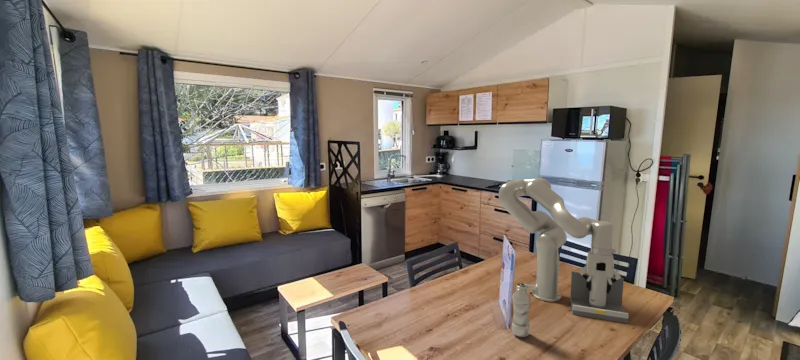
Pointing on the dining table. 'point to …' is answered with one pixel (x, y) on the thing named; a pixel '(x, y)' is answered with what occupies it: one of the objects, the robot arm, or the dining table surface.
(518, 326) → the plastic bottle
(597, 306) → the travel mug
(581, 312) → the grey bookend
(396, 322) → the dining table surface
